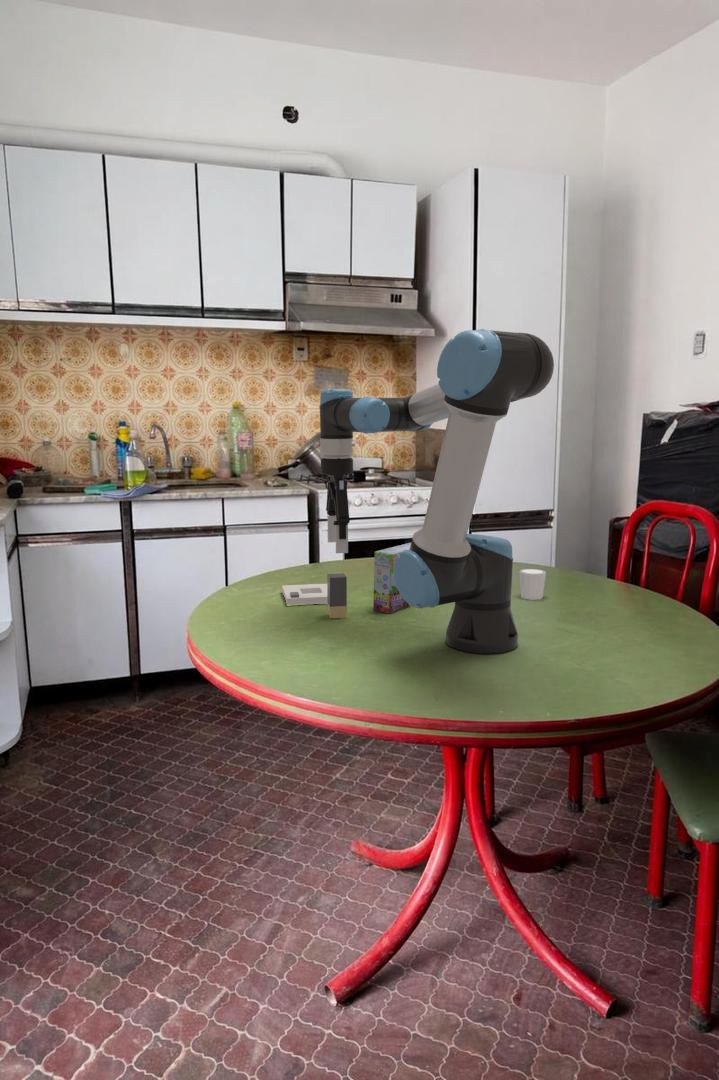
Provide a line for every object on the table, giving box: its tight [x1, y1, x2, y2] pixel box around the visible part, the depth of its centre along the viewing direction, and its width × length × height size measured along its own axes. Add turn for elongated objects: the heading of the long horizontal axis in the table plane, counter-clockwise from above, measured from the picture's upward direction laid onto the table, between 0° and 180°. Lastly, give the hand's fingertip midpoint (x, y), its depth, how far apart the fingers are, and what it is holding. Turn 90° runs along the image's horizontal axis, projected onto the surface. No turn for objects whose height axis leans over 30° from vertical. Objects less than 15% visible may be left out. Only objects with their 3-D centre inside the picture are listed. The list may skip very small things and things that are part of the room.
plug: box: [326, 572, 348, 619], centre depth 181 cm, size 4×4×10 cm
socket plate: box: [281, 583, 328, 605], centre depth 198 cm, size 14×14×3 cm
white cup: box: [519, 568, 547, 601], centre depth 198 cm, size 7×7×7 cm
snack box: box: [372, 542, 412, 614], centre depth 191 cm, size 21×6×15 cm, turn 143°
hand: (337, 547), depth 179 cm, fingers open, 13 cm apart
